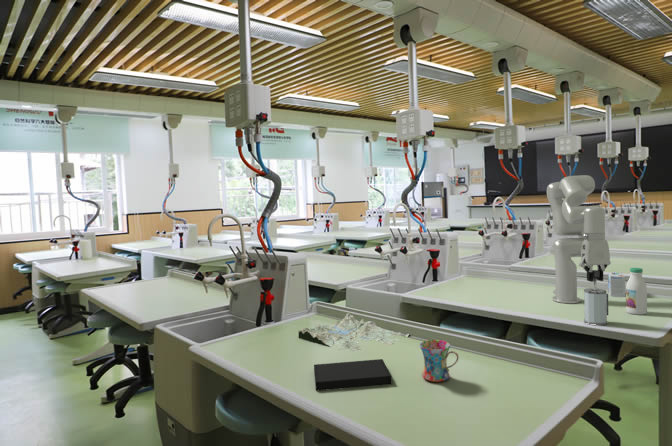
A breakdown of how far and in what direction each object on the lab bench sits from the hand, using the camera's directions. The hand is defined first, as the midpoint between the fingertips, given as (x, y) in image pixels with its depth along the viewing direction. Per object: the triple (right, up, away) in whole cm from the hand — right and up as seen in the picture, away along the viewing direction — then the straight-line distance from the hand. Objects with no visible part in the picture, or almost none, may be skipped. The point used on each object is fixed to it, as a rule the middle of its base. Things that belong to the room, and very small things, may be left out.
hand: (595, 280), depth 182 cm
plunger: (+1, -11, +1) cm, 11 cm away
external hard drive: (-103, -26, -43) cm, 115 cm away
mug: (-76, -25, -47) cm, 92 cm away
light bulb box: (+38, -14, +46) cm, 61 cm away
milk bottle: (+26, -16, +12) cm, 33 cm away
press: (+1, -18, +1) cm, 18 cm away
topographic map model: (-101, -24, -2) cm, 103 cm away
